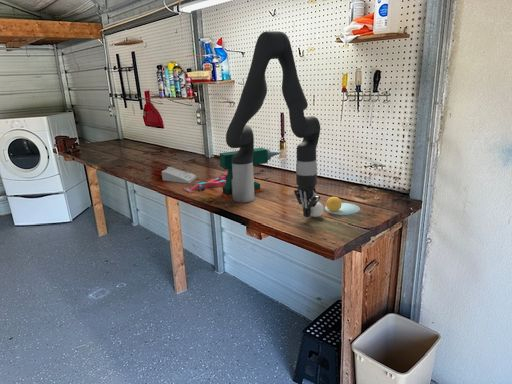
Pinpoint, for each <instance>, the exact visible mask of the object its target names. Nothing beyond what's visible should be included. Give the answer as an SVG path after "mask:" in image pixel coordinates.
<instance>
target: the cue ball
mask: <svg viewBox="0 0 512 384" xmlns="http://www.w3.org/2000/svg"><path fill="white" fill-rule="evenodd" d="M324 211H325V207H324V205H323V204H322V203H321V202H320V201H318V202H317V204H316V205H315V207H311V215H310V217H314V218H319V217H321V215H323V213H324Z"/></svg>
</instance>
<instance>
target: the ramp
mask: <svg viewBox="0 0 512 384" xmlns="http://www.w3.org/2000/svg"><path fill="white" fill-rule="evenodd" d="M161 177H162V181H164V182H174V183H180V184H182V183H183V184H191V183H192V182H194V180H197V174H194V173H192V172H188V171H185V170H184V171H183V170H180V169H177V168H174V167H172V166H167V168H166V169H164V170H162V171H161Z"/></svg>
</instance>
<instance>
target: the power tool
mask: <svg viewBox="0 0 512 384" xmlns="http://www.w3.org/2000/svg"><path fill="white" fill-rule="evenodd" d="M238 151H239V150H233V151H225V152H219V153H218V154H219V165H220V168H222V169H224V170H227V172H228V173H227V179H226V185H225V186H221V189H222V192H221V195H222V197H224V198H225V199H228V198H233V195H232V179H233V172H232V156H233V155H235V154H236V153H237V152H238ZM280 154H281V152H279V151H278V152H277V151H271V150H270V149H268V148H264V147H257V148H255V147H254V155H253V166H258V165H265V164H268V163H269V161H270V160H271V159H272V157H274V156H278V155H280ZM261 192H263V189H262V188H261V183H259V182H258V181H255V180H254V194H255V193H261Z"/></svg>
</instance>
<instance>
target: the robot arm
mask: <svg viewBox="0 0 512 384" xmlns="http://www.w3.org/2000/svg"><path fill="white" fill-rule="evenodd" d="M294 57H295V56H294V53H293V48H292V43H291V41H290V39H289V36H288V35H287V34H286V33H285V32H284V31H280V30H279V31H278V30H274V31H273V30H272V31H271V30H270V31H269V30H268V31H262V32H261V33H260V35H259V36H258V38H257V39H256V42H255V46H254V50H253V56H252V58H251V59H252V60H251V64H250V67H249V71H248V74H247V77H246V80H245V84H244V86H243V89H242V91H241V94H240V96H239V97H240V98H239V100H238V104H237V107H236V110H235V112H234V114H233V116H232V119H231V121H230V123H229V125H228V128H227V130H226V134H225V142H226V145H227V146H228V147H229V148H231V149H238V150H237V151H238V152H237V153H236V154H235V155H233V156H232V172H233V179H232V195H233V197H232V200H234V202H237V203H249V202H252V201H254V200H255V199H256V198H255V193H254V182H255V180H254V178H255V177H254V165H253V155H254V149H255V147H254V146H255V144H254V143H255V141H254V140H255V139H254V131H253V129H252V127H251V125H248V122H249V121H250V120H251V119H252V118H253V117H255V115H256V114H257V113H258V112H259V111H260V109H262V106H263V104H264V102H265V100H266V96H267V93H268V85H267V80H266V71H267V68H268V65H269V63H270V62H271V60H278V62H279V65H280V67H281V72H282V80H281V81H282V83H281V92H282V96H283V99H284V101H285V104H286V107H287V109H288V115H289V122H290V123H289V124H290V129H291V132H292V134H293V135H294V136H296V138H299V139H302V141H301V142H300V143H298V144H297V146H296V166H295V167H296V168H295V175H296V176H295V177H296V179H295V181H296V182H295V183H296V185H297V189H294V191H293V193H294V195H295V197H296V200H297V202H298V204H299V205H301V207H302V210H303V211H302V214H303V217H304V218H309V217H311V207H315V205H316V204H317V202H320V200H321V196H320V195H318V194H317V190H316V186H317V184H318V163H317V146H318V143H319V139H320V134H321V124H320V121H319V119H318V117H316V116H315V115H309V116H305V110H307V109H308V105H309V104H308V101H307V98H306V95H305V93H304V91H303V87H302V86H301V82H300V80H299V77H298V76H299V75H298V72H297V67H296V61H295V58H294Z"/></svg>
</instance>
